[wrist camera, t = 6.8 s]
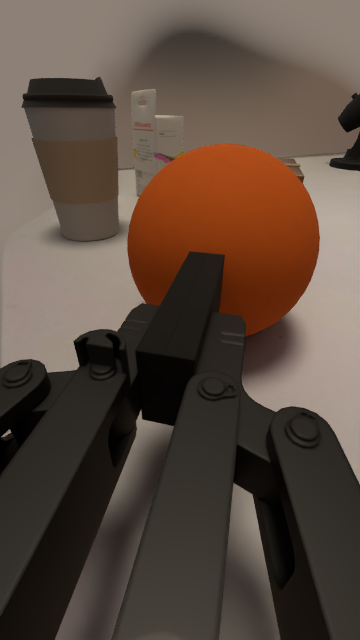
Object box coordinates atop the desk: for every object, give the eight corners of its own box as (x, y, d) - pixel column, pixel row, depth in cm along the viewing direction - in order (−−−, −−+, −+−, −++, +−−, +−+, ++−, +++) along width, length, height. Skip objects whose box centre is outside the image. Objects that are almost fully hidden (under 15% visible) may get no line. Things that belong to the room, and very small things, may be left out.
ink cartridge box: (185, 201, 50) (186, 89, 41) (158, 205, 47) (154, 88, 39) (160, 191, 56) (156, 92, 47) (135, 194, 53) (127, 91, 45)
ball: (99, 348, 18) (69, 141, 13) (173, 282, 27) (174, 140, 21) (284, 404, 15) (357, 150, 9) (300, 307, 24) (343, 145, 18)
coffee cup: (56, 249, 32) (12, 68, 24) (49, 225, 39) (13, 77, 30) (137, 237, 35) (124, 73, 27) (118, 217, 42) (102, 80, 33)
